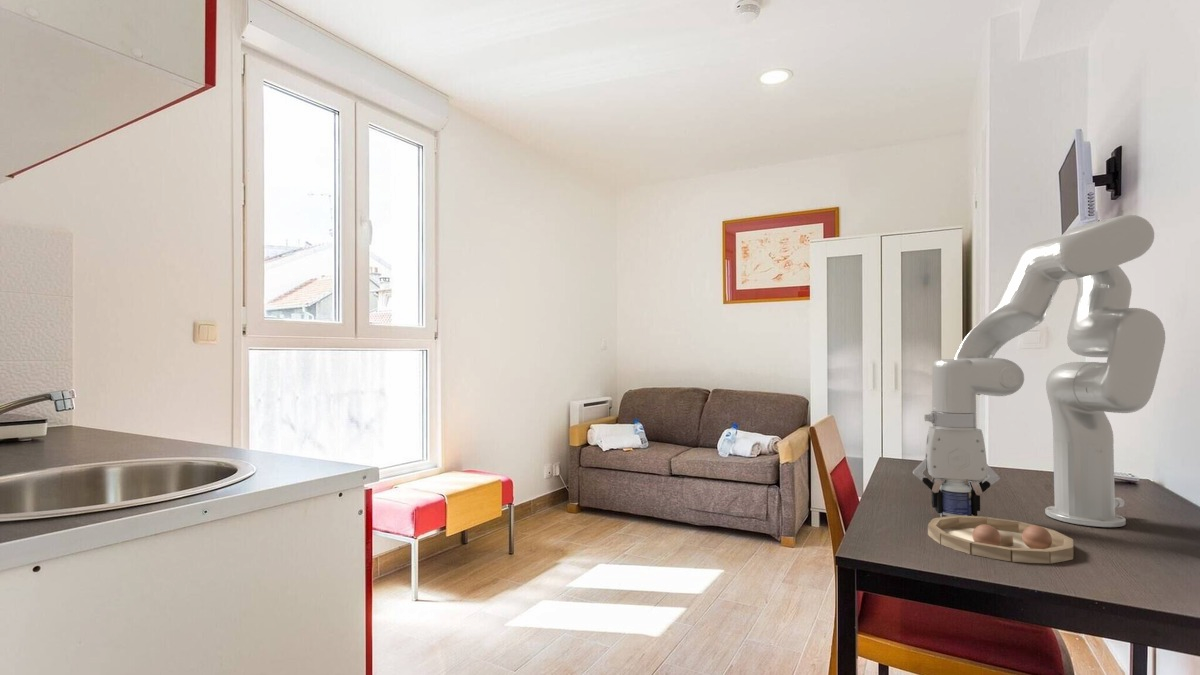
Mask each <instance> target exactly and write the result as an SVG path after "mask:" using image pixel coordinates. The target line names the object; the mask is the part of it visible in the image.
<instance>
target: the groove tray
mask: <svg viewBox="0 0 1200 675" xmlns="http://www.w3.org/2000/svg"><path fill="white" fill-rule="evenodd" d="M983 524H986V525H990V526H992V527H994V528H995V529H997V530H998V532H999V533H1000V535H1001V543H1000V545H999V546H997V545H991V544H984V543H978V542H974V540H973V536H972V534H973V530H974V529H975V528H976V527H977V526H979V525H983ZM1032 525H1034V524H1033V523H1029V522H1024V521H1019V520H1014V519H1013V520H1012V519H1007V518H1005V519H1004V518H998V517H990V516H980V515H977V516H974V515H972V516H958V515H955V516H954V515H953V516H946V517H941V516H939V517H934V518H932V519H931V520H930V522H928V524H927V535H928V537H930V538H931V539H932V540H933V541H935V542H936V543H938V544H939V545H941V546H943V547H944V546H945V547H947V548H949V549H952V550H955V551H958V552H962V553H965V554H968V555H972V556H977V557H983V558H987V559H992V560H999V561H1005V562H1010V563H1011V562H1012V563H1025V564H1027V563H1028V564H1057V563H1061V562H1062V563H1063V562H1065V561H1070V560H1074V539H1073V538H1071V537H1069V536H1067V535H1066V534H1063V533H1061V532H1059V531H1057V530H1054V529H1052V528H1048V527H1044V526H1042V527H1043V528H1045V529H1046V530H1047V531H1048V532H1049V533H1050V535H1051V537H1052V544H1051V546H1050V547H1049V548H1047V549H1031V548H1029V547H1028V546H1027V545H1026V544H1025V543H1024V541H1023V539H1022V533H1023V531H1024V529H1025V528H1027V527H1029V526H1032Z"/></svg>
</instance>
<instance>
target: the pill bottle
mask: <svg viewBox="0 0 1200 675" xmlns="http://www.w3.org/2000/svg"><path fill="white" fill-rule="evenodd" d="M940 493H941V494H942V513H939V517H946V516H953V515H954V516H955V515H958V516H973V515H972V505H971V503H972V502H971V487H970V484H967V481H960V480H944V481H942V484H941V486H940Z"/></svg>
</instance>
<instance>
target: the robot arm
mask: <svg viewBox="0 0 1200 675" xmlns="http://www.w3.org/2000/svg"><path fill="white" fill-rule="evenodd" d="M1154 241H1155V230H1154V227H1153V226H1152V224H1151V222H1149V221H1148V220H1147V219H1145V218H1144V217H1141V216H1139V215H1134V214H1124V215H1120V216H1119V215H1118V216H1116V217H1112V218H1108V219H1103V220H1099V221H1093V222H1090V223H1087V224H1082V225H1079V226H1075V227H1073V228H1070V229H1068V230H1066V231H1065V232H1063V233H1062V235H1060V236H1059V237H1056V238H1055V237H1054V238H1051V239H1045V240H1043V241H1037V242H1035V243H1032V244H1030V245H1028V246H1026V247H1025V248H1024V249H1023V250H1022V251H1021V253H1020V254H1019V256H1018V257H1017V260H1016V261H1015V263H1014V266H1013V268H1012V270H1011V273H1010V275H1009V277H1008V279H1007V281H1006V283H1005V285H1004V288H1003V290H1002V291H1001V294H1000V296H999V299H998V300H997V303H996V304H995V306H994V307H993V308H992V309H991V310H990V311H989V312H988V313H987V314H986V315H985V316H983V318H982V319H981V320H980V321H979V322H978V323H977V324H976V325H975V326H974V327H973V328H972V329H971V330H969V332H968V333H967V334H966V335H965V337H964V338H963V340H962V341H961V343H960V345H959V346H958V350H957V352H956V353H955V355H954V357H953V358H944V359H943V358H941V359H936V360H934V362H933V363H932V364H931V377H932V378H931V392H932V393H931V394H932V395H931V398H932V400H931V401H932V411H931V413H929V414H924V421H925V422H929V423H931V424H932V425H931V426H929V427H928V432H927V437H926V444H925V446H926V447H925V457H924V459H923V460H922V461H921V462H920V463H919V464H918V465H917V466H916V467H915V468H914V469H913V470H912V474H913V476H915V477H916V478H917V479H919V480H920V481H921V482H922V483H923V484H924V485H925V486H926V487H928V489H929V490H930V491H931V507H932V509H933V508H934V510H935V512H936V513H937V514H940V513H942V494H941V493H940V486H941V484H942V482H944V481H945V480H960V481H966V482H968V483H969V484H968V485H969V486H970V487H971V502H972V503H971V505H972V516H978V512H981V496H982V495H983V493H984V492H985V491H987V490H988V489H990V487H991V486H993V485H994V484H995V483H996V482H998V481H999V480H1000V478H1001V477H1000V476H999V474H997V473H996V472H995V470H994V469H992V467H991V466H990V465H989V464H988V461H987V452H986V445H985V439H984V434H983V430H982V429H981V428H977V395H983V396H990V397H1006V396H1011V395H1013V394H1015V393H1017V392H1018V391H1019V390H1020V389H1021V388H1022V387H1023V384H1024V382H1025V374H1024V371H1023V369H1022V367H1021V366H1019V365H1018V364H1017V363H1015V362H1014V361H1013V360H1009V359H1006V358H1000V357H995V355H996V353H998V351H999V350H1000V349H1001V348H1003V346H1004V345H1005V344H1007V343H1008V342H1009V341H1011V340H1013V339H1014V338H1016V337H1019V336H1020V335H1023V334H1025V333H1027V332H1029V331H1031V330H1032V329H1034V328H1035V327H1037V326H1039V325H1040V324H1041V323H1042V322H1043V321H1045V320H1044V319H1045V317H1046V316H1047V314H1048V312H1049V309H1050V307H1051V305H1052V303H1053V300H1054V298H1055V296H1056V294H1057V292H1058V291H1059V290H1058V289H1060V288H1059V287H1060V285H1061V283H1062V282H1063V281H1067V280H1073V279H1075V281H1076V283H1077V294H1076V299H1075V302H1074V307H1073V310H1072V314H1071V319H1070V322H1069V326H1068V330H1067V336H1066V342H1067V346H1068V348H1069V350H1071V351H1072V352H1073V353H1074V354H1076V355H1078V356H1082V357H1089V358H1107V359H1106V362H1099V361H1070V362H1066V363H1063V364H1060V365H1057V366H1056V367H1054V368H1053V369H1052V370H1051V371H1050V372H1049V374H1048V375H1047V378H1046V382H1045V390H1046V395H1047V400H1048V402H1049V407H1050V411H1051V418H1052V419H1051V420H1052V438H1053V439H1052V441H1053V442H1052V446H1053V447H1052V448H1053V454H1052V456H1053V486H1054V487H1053V489H1054V490H1053V492H1054V493H1053V496H1054V505H1049V506H1047V507H1046V508H1045V509H1044V511H1045V515H1046V516H1048V517H1050V518H1051V519H1054V520H1057V521H1061V522H1064V523H1070V524H1075V525H1079V526H1088V527H1099V528H1119V527H1124V526H1126V524H1127V523H1126V521H1127V520H1126V518H1125V516H1122V515H1120V514H1118V513H1116V509H1117V508H1122V507H1124V506H1125V503H1126V502H1125V500H1124V499H1122V498H1121V497H1116V495H1115V493H1116V492H1115V491H1116V490H1115V460H1114V458H1115V456H1114V451H1115V450H1114V443H1115V442H1114V441H1115V440H1114V431H1113V427H1112V425H1111V422H1110V420H1109V417H1108V416H1107V414H1106V413H1115V414H1116V413H1117V414H1133V413H1135V412H1138V411H1140V410H1141V409H1143V408H1144V407H1146V405H1147V404H1148V403H1149V402H1150V399H1151V397H1152V395H1153V392H1154V388H1155V385H1156V382H1157V381H1156V380H1157V378H1158V374H1159V370H1160V366H1161V361H1162V358H1163V354H1164V350H1165V344H1166V331H1165V327H1164V324H1163V323H1162V320H1161V319H1160V318H1159V317H1158V316H1157V315H1156V314H1155V313H1154V312H1152V311H1150V310H1148V309H1144V308H1140V307H1130V303H1131V297H1132V290H1133V288H1132V284H1131V281H1130V279H1129V277H1128V276H1127V274H1126V273H1125V272H1124V270H1123V269H1122V268H1121V267H1120V265H1123V264H1126V263H1128V262H1130V261H1133V260H1135V259H1138V258H1140V257H1142V256H1143V255H1144V254H1146V253H1147V252H1148V251H1149V250H1150V249H1151V247H1152V246H1153V243H1154ZM925 471H926V473H927V474H928V475H929V476H930V477H931V480H930V479H929V478H928V477H927V476H926V475H925V474H924V472H925Z"/></svg>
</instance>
